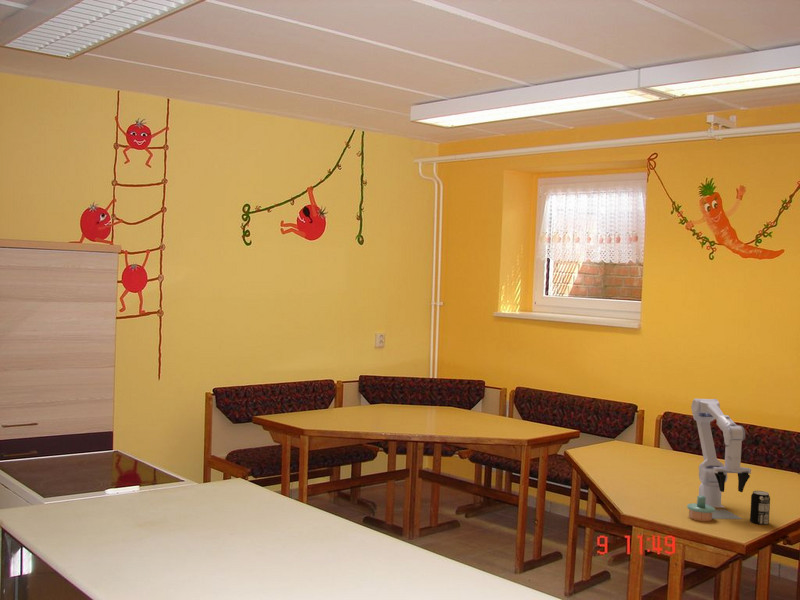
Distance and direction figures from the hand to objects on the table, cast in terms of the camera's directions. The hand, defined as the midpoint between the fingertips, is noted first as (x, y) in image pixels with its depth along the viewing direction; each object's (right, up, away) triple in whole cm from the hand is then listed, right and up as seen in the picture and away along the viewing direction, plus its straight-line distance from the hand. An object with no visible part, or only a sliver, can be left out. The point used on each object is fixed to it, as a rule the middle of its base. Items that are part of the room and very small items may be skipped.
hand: (731, 491), depth 319 cm
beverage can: (+7, -11, -8) cm, 15 cm away
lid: (-14, -6, -5) cm, 16 cm away
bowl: (-14, -10, -5) cm, 18 cm away
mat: (-4, -10, +1) cm, 11 cm away
